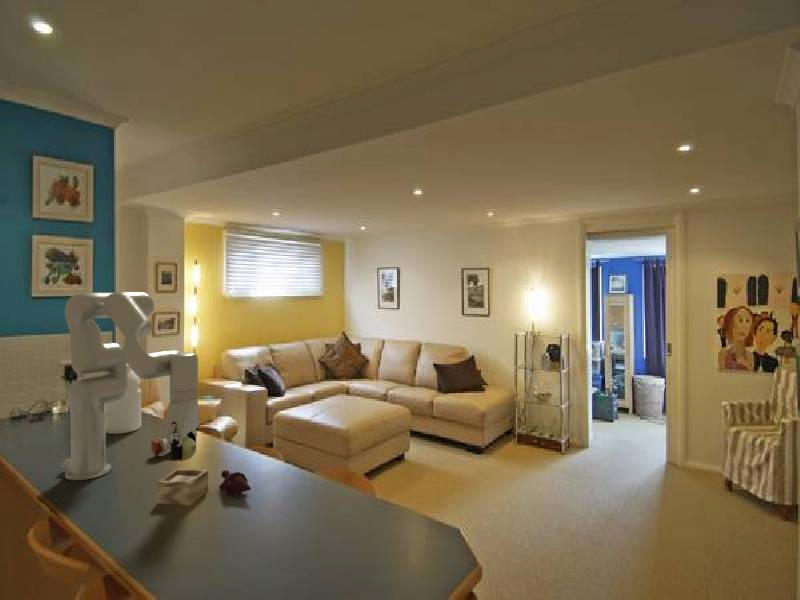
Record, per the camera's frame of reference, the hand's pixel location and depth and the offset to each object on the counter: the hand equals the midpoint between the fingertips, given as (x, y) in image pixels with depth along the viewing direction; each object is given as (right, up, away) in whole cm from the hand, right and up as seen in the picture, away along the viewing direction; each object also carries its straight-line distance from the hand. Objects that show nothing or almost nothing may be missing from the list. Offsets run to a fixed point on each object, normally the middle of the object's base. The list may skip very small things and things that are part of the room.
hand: (183, 454), depth 136 cm
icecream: (+14, -13, +2) cm, 20 cm away
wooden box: (0, -13, 0) cm, 13 cm away
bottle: (-56, -10, +63) cm, 85 cm away
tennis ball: (0, -1, 0) cm, 1 cm away
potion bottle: (-20, -12, +36) cm, 43 cm away
